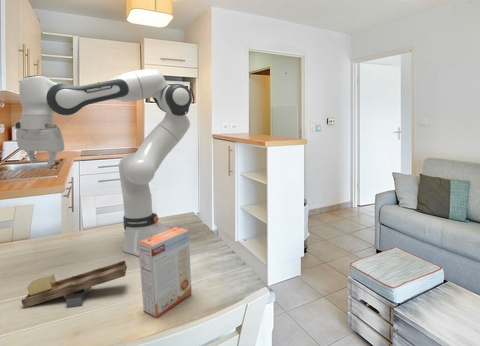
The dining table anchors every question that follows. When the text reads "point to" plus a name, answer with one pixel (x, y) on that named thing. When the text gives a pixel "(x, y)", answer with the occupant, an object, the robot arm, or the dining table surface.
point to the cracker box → (165, 270)
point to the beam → (79, 283)
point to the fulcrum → (76, 298)
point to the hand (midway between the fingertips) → (42, 163)
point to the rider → (42, 285)
